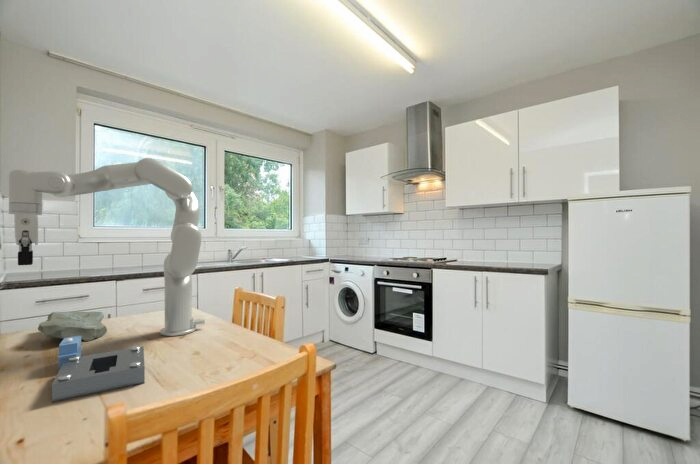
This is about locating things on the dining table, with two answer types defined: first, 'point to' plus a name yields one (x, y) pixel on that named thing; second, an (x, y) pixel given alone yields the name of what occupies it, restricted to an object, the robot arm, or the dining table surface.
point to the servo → (69, 349)
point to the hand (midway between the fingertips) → (25, 263)
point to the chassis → (99, 373)
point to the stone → (73, 325)
